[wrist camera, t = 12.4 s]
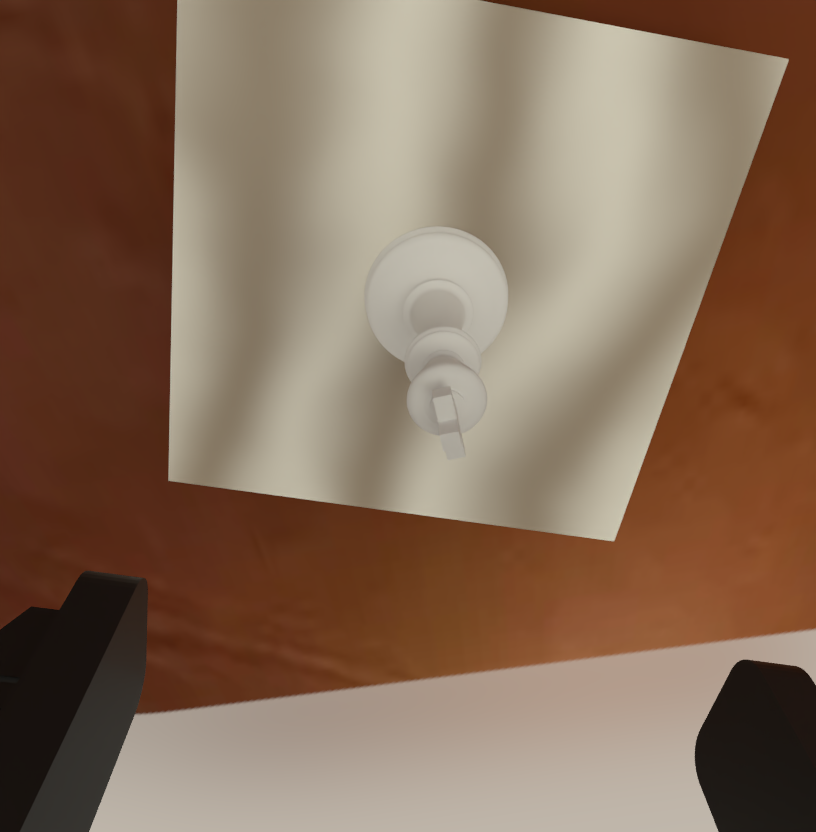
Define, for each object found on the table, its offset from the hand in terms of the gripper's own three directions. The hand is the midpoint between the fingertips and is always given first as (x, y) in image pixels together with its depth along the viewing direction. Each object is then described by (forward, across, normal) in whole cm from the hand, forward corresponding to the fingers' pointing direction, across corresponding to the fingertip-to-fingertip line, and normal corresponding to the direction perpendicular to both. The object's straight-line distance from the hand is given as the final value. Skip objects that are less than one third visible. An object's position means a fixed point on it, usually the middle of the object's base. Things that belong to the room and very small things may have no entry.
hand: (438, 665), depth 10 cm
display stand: (+22, -1, 0) cm, 22 cm away
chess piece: (+17, -1, 0) cm, 17 cm away
